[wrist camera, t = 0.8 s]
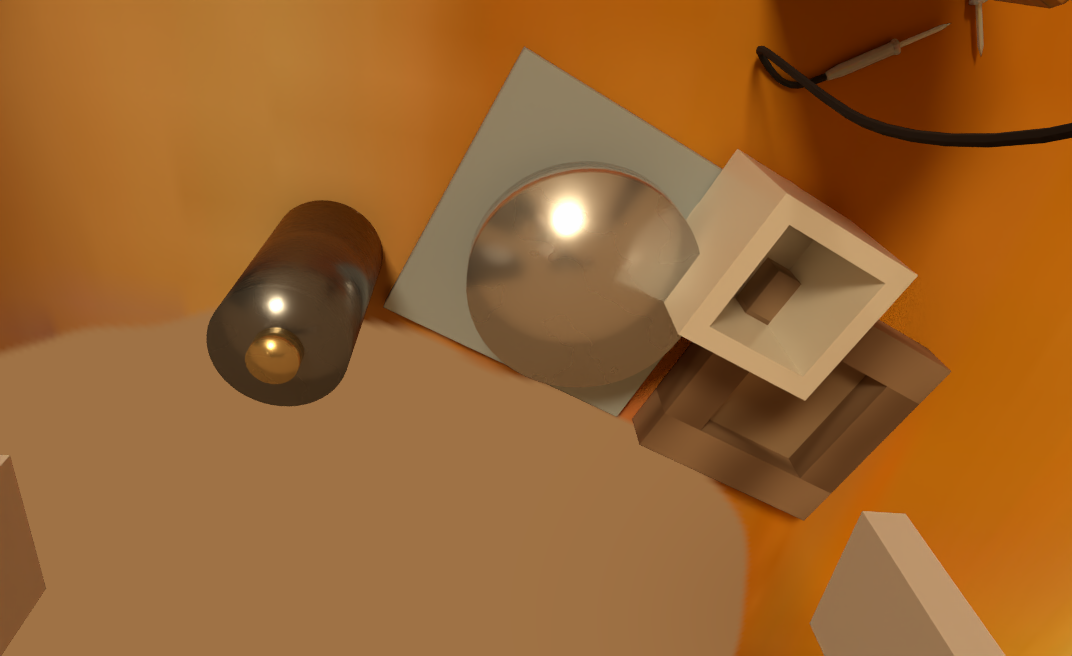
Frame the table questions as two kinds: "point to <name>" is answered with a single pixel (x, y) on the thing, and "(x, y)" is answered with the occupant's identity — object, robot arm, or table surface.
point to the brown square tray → (785, 409)
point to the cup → (802, 247)
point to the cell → (298, 306)
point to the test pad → (578, 274)
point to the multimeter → (905, 133)
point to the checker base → (515, 152)
